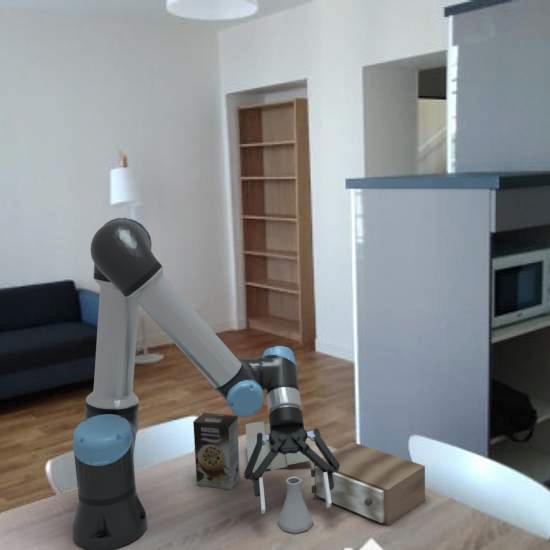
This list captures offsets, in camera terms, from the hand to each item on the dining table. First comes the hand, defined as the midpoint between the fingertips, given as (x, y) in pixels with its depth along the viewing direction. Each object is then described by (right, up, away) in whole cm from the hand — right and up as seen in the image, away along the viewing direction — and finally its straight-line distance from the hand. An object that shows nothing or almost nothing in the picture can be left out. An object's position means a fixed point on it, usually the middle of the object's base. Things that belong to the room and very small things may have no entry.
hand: (296, 508), depth 133 cm
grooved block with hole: (-4, 0, +34) cm, 34 cm away
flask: (0, -5, +3) cm, 5 cm away
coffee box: (-18, -2, +23) cm, 29 cm away
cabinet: (+17, -2, +13) cm, 21 cm away
